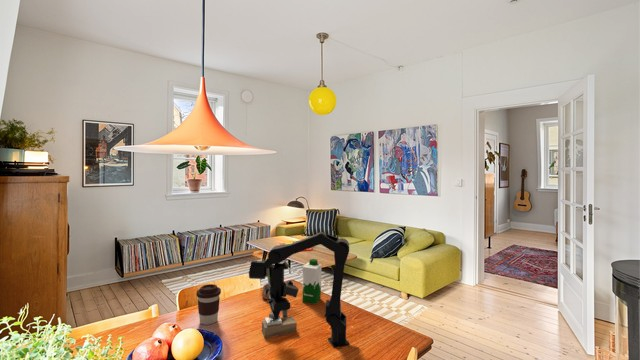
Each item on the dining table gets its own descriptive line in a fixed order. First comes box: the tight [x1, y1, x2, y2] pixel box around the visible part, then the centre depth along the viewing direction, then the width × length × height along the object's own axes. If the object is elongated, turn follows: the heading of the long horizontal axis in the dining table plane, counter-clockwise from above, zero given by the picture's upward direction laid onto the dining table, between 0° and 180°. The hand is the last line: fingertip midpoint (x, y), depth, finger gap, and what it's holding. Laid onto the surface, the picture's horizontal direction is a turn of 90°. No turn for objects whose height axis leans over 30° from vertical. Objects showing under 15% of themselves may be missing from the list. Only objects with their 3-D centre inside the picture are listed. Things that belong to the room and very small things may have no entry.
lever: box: [268, 310, 283, 319], centre depth 136 cm, size 14×4×2 cm, turn 158°
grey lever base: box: [261, 309, 298, 339], centre depth 135 cm, size 12×13×6 cm
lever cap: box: [264, 315, 282, 326], centre depth 131 cm, size 4×6×2 cm
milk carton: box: [301, 258, 323, 305], centre depth 163 cm, size 9×9×20 cm
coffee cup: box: [195, 283, 222, 326], centre depth 140 cm, size 10×10×15 cm
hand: (276, 318), depth 126 cm, fingers closed
